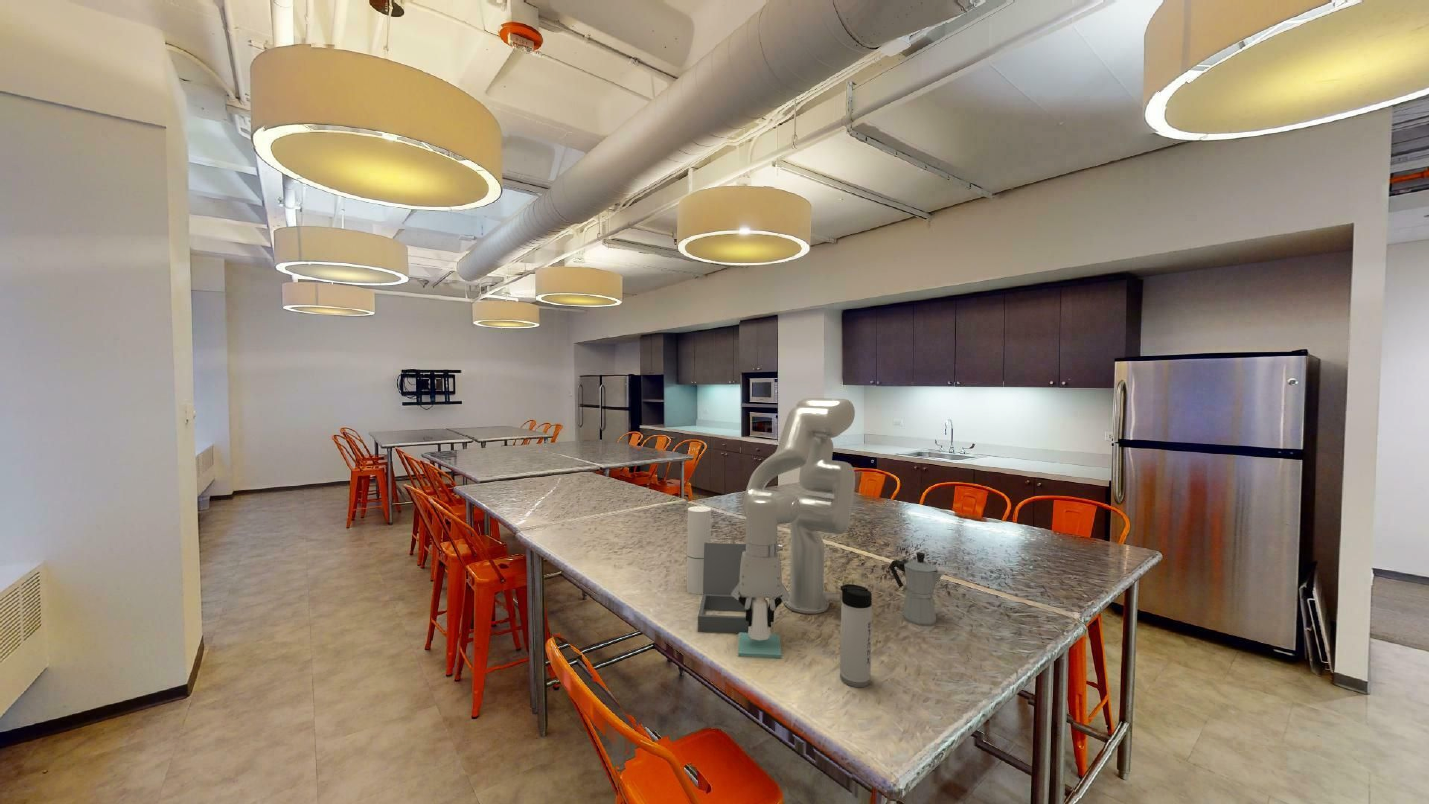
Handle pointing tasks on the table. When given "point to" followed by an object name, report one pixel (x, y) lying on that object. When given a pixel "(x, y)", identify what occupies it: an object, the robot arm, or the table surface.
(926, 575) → the coffee maker
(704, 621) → the case
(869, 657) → the travel mug
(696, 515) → the cylindrical container
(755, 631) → the salt shaker
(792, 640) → the table surface
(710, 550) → the lid
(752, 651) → the pad
